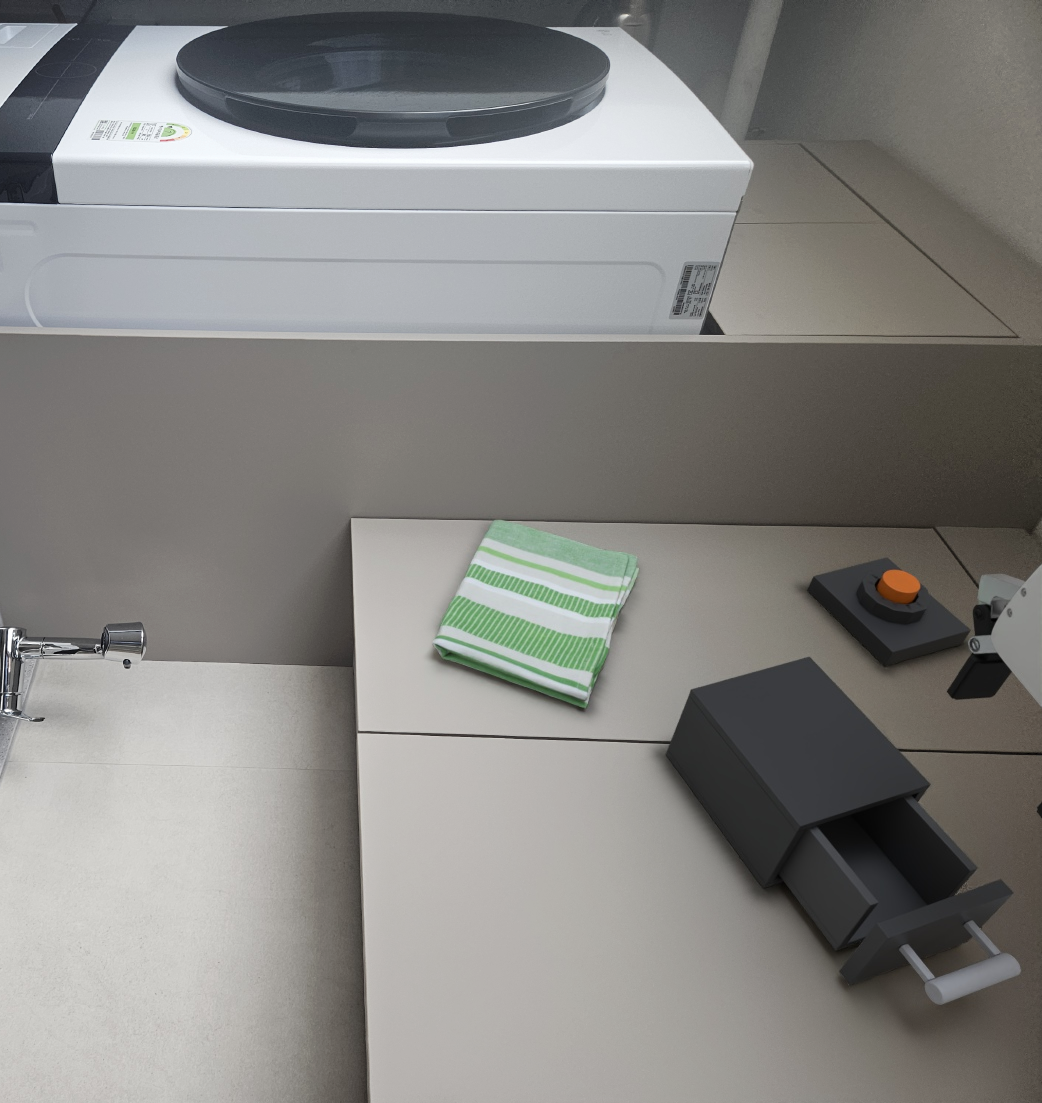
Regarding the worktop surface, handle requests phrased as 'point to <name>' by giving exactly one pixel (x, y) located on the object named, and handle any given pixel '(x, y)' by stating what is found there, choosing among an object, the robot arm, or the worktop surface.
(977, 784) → the worktop surface
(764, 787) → the dark grey drawer box
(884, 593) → the button
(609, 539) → the worktop surface
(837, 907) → the dark grey drawer
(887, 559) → the control block
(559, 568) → the dish towel
